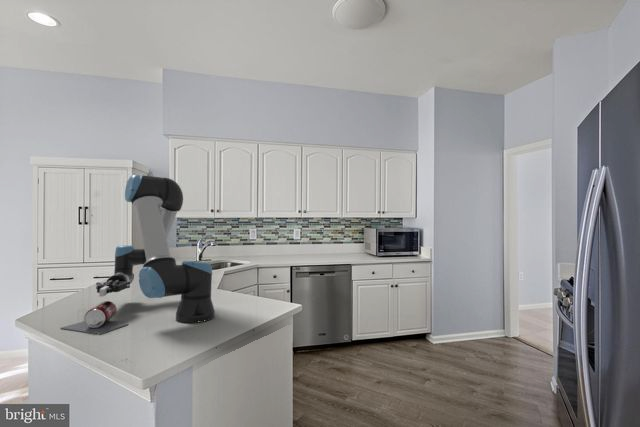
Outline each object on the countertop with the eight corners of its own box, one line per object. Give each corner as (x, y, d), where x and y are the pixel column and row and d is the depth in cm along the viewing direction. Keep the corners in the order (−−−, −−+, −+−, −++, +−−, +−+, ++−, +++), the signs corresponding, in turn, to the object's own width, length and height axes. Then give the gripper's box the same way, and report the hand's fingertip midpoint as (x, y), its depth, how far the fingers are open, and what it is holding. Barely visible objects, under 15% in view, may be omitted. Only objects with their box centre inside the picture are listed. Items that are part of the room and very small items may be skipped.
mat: (128, 325, 127) (128, 323, 128) (99, 334, 116) (99, 333, 116) (91, 320, 133) (91, 319, 133) (60, 328, 121) (60, 327, 121)
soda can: (107, 323, 133) (95, 333, 121) (92, 311, 131) (78, 320, 120) (121, 308, 134) (111, 317, 122) (106, 296, 133) (94, 304, 121)
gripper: (133, 290, 153) (120, 302, 130) (100, 291, 149) (81, 303, 126) (134, 273, 153) (121, 282, 131) (101, 274, 149) (82, 283, 127)
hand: (101, 292), depth 129 cm, fingers closed
